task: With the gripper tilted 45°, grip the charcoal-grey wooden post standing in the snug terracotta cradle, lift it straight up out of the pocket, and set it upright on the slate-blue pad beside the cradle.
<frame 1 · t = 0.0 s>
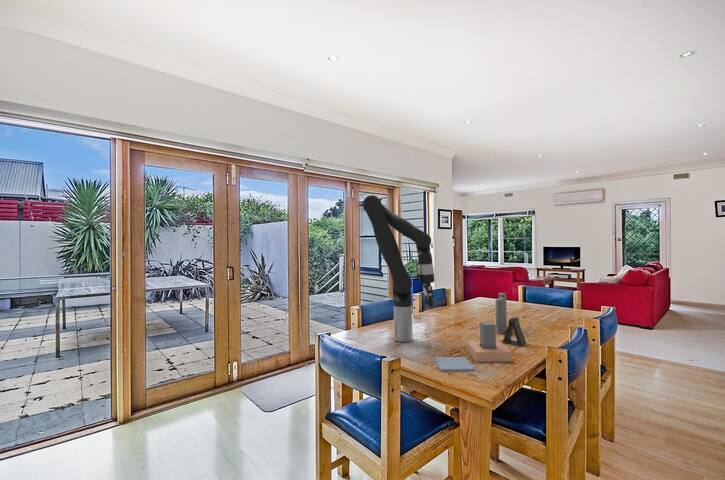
hand: (429, 305, 173), 17 cm above the table, tool pointing down, fingers open, 8 cm apart
terracotta cradle: (488, 355, 147), on the table
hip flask: (502, 330, 187), on the table
slate pad: (453, 364, 138), on the table
charcoal post: (487, 339, 147), in the terracotta cradle
dark grey triangular frame: (514, 343, 164), on the table
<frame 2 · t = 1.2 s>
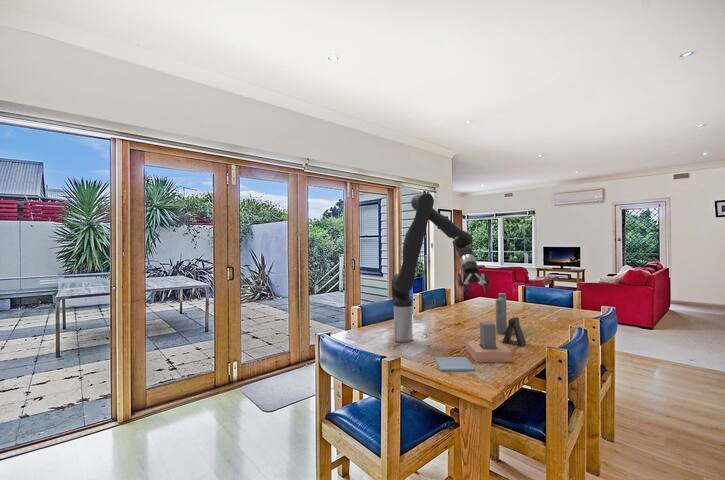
hand: (476, 292, 160), 25 cm above the table, tool tilted 45°, fingers open, 8 cm apart
nothing on the table moved.
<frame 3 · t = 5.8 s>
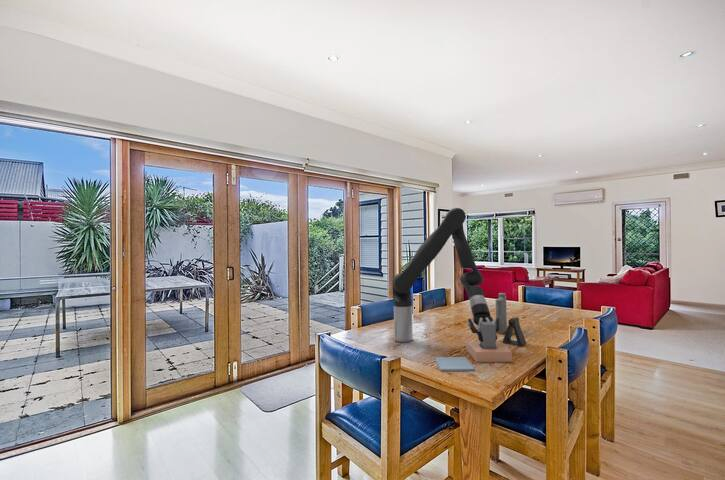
hand: (488, 340, 146), 7 cm above the table, tool tilted 45°, fingers closed on charcoal post, 5 cm apart
charcoal post: (487, 339, 147), in the terracotta cradle, touching gripper
everything else where it was.
when the fingers open (9 cm above the table, at t = 13.5 s): charcoal post drops 1 cm, resting on slate pad.
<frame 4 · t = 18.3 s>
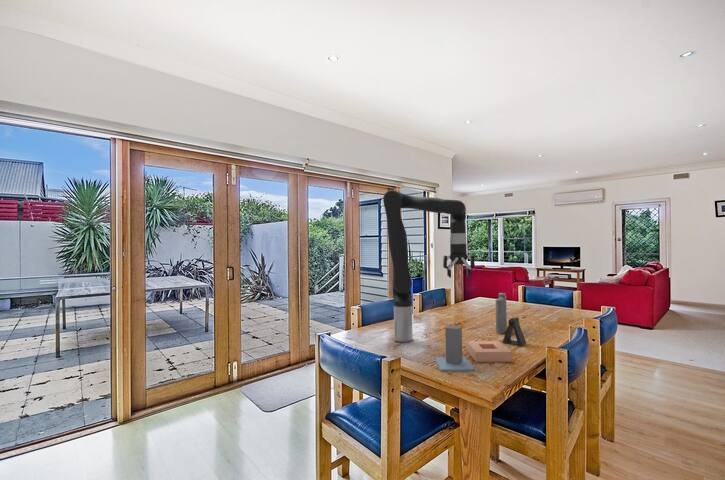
hand: (459, 277, 162), 32 cm above the table, tool pointing down, fingers open, 8 cm apart
charcoal post: (453, 344, 139), on the slate pad, point 8 cm above the table
everything else where it was.
at the end: charcoal post inside the target area on the slate pad (1.4 cm from its centre), point 7.8 cm above the slate pad's base; charcoal post tilted 0°; the gripper is holding nothing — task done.
